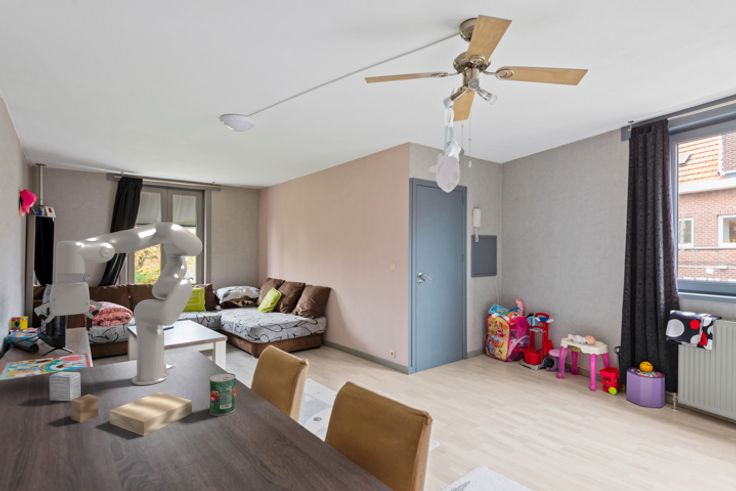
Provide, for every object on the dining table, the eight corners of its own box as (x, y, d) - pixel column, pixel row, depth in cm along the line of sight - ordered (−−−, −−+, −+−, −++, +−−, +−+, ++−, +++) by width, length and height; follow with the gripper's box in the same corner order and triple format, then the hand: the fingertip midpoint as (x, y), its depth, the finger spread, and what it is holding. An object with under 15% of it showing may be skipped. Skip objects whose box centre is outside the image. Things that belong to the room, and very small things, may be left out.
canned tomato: (204, 412, 124) (204, 378, 124) (223, 403, 131) (223, 371, 131) (221, 418, 120) (221, 383, 120) (240, 408, 127) (240, 375, 127)
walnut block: (88, 412, 123) (88, 394, 123) (98, 416, 121) (98, 397, 120) (71, 419, 118) (71, 399, 118) (80, 422, 116) (80, 403, 116)
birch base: (158, 403, 130) (158, 391, 130) (192, 413, 123) (192, 400, 123) (109, 423, 115) (109, 410, 115) (144, 436, 109) (144, 422, 109)
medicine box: (81, 396, 135) (81, 372, 135) (70, 402, 130) (70, 376, 130) (60, 395, 136) (60, 371, 135) (48, 400, 131) (48, 375, 131)
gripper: (101, 277, 132) (100, 327, 132) (34, 279, 120) (33, 334, 120) (105, 278, 126) (103, 330, 126) (35, 281, 115) (34, 338, 114)
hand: (69, 332), depth 123 cm, fingers open, 9 cm apart
